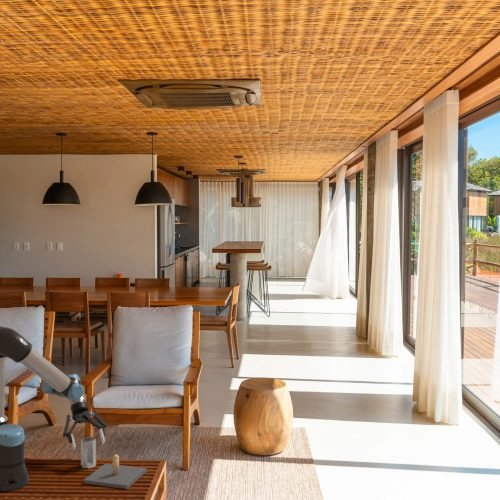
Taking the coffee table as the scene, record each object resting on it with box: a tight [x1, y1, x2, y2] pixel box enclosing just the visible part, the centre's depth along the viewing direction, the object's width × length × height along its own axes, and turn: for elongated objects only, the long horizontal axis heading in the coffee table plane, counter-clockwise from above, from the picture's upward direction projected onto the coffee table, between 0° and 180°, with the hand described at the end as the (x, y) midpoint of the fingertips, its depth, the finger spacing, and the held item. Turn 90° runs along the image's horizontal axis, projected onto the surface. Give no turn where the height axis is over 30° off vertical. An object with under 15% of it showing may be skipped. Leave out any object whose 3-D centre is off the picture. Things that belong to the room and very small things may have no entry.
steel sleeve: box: [80, 436, 97, 469], centre depth 254 cm, size 6×6×12 cm
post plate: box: [83, 454, 148, 490], centre depth 242 cm, size 20×18×10 cm
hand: (89, 445), depth 257 cm, fingers open, 13 cm apart
